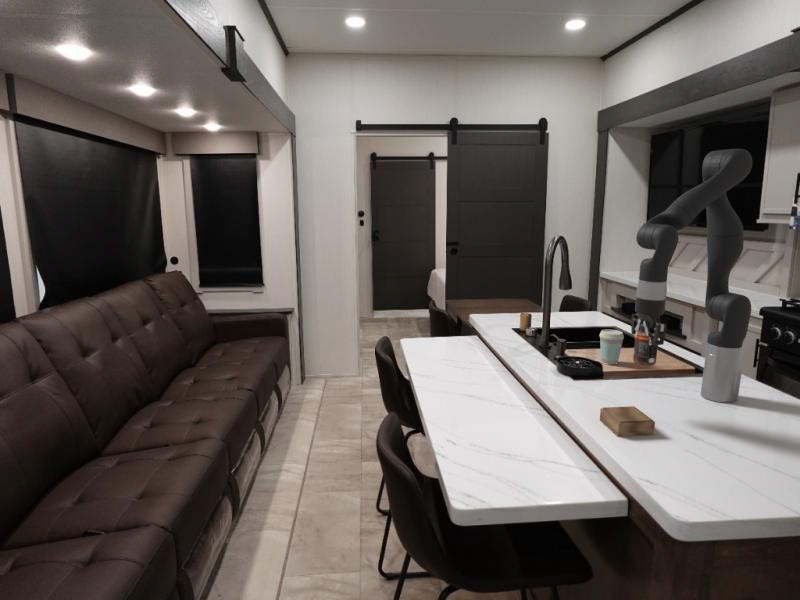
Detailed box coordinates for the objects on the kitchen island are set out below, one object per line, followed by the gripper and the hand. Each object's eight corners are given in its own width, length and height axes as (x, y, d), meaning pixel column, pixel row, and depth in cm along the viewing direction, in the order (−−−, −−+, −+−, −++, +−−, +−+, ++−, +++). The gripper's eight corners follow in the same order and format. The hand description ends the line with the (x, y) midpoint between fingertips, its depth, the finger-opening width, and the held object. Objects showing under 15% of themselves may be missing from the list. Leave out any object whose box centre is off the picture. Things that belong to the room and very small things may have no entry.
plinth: (633, 419, 150) (634, 405, 149) (653, 434, 140) (655, 420, 140) (599, 420, 149) (600, 407, 148) (617, 436, 139) (619, 422, 138)
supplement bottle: (658, 367, 148) (662, 327, 146) (635, 365, 150) (639, 326, 147) (652, 360, 154) (656, 322, 152) (630, 359, 155) (634, 321, 153)
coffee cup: (623, 361, 201) (626, 331, 199) (619, 367, 194) (622, 336, 192) (599, 358, 206) (602, 327, 203) (594, 363, 198) (597, 332, 196)
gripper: (679, 301, 141) (672, 362, 145) (649, 291, 155) (643, 346, 159) (652, 301, 141) (646, 362, 144) (624, 291, 155) (619, 347, 158)
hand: (645, 354), depth 151 cm, fingers closed on supplement bottle, 6 cm apart
